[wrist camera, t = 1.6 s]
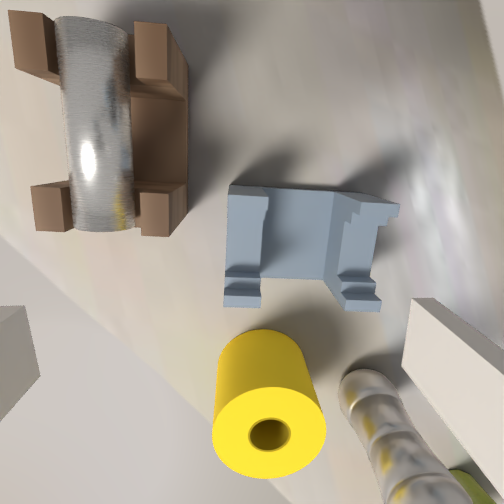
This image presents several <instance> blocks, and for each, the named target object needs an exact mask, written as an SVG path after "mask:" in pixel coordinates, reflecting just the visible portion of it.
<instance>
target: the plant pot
mask: <svg viewBox="0 0 504 504" xmlns="http://www.w3.org/2000/svg"><path fill="white" fill-rule="evenodd" d="M449 472H450V473H451V474H452V475H453V476H454V477H455V478H456V480H457V481H458V482H459V483H460V484H461V486H462V487H463V488H464V489H465V491H466V492H467V493H468V495H469V496H470V497H471V499H472V502H473V504H496V503H495V502H494V500H493V499H492V498H491V497H490V496H489V495H488V494H487V493H486V492H485V491H484V489H483V488H482V487H481V486H480V485H479V484H478V483H477V482H476V481H475V480H474V478H473V477H472V476H471V475H470V474H469V473H465V472H462V471H460V470H450V471H449Z"/></svg>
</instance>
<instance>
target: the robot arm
mask: <svg viewBox="0 0 504 504" xmlns="http://www.w3.org/2000/svg"><path fill="white" fill-rule="evenodd" d="M401 366H402V367H403V369H404V370H405V371H406V373H407V374H408V375H409V377H410V378H411V379H412V380H413V382H414V383H415V384H416V386H417V387H418V388H419V390H420V391H421V392H422V393H423V395H424V396H425V397H426V399H427V400H428V401H429V403H430V404H431V405H432V407H433V408H434V409H435V410H436V412H437V413H438V414H439V416H440V417H441V418H442V420H443V421H444V422H445V423H446V425H447V426H448V427H449V429H450V430H451V431H452V433H453V434H454V435H455V436H456V438H457V439H458V440H459V442H460V443H461V444H462V446H463V447H464V448H465V450H466V451H467V452H468V453H469V455H470V456H471V457H472V459H473V460H474V461H475V463H476V464H477V465H478V466H479V468H480V469H481V470H482V472H483V473H484V474H485V476H486V477H487V478H488V479H489V481H490V482H491V483H492V485H493V486H494V487H495V489H496V490H497V491H498V493H499V494H500V495H501V496H502V498H503V499H504V350H503V349H501V348H500V347H499V346H497V345H496V344H495V343H493V342H492V341H491V340H489V339H488V338H487V337H485V336H484V335H483V334H481V333H480V332H479V331H477V330H476V329H475V328H473V327H472V326H470V325H469V324H468V323H466V322H465V321H464V320H462V319H461V318H460V317H458V316H457V315H456V314H454V313H453V312H452V311H450V310H449V309H448V308H446V307H445V306H444V305H442V304H441V303H440V302H438V301H437V300H436V299H434V298H412V300H411V307H410V313H409V320H408V326H407V333H406V339H405V346H404V352H403V359H402V365H401ZM39 377H40V372H39V367H38V363H37V358H36V354H35V349H34V345H33V340H32V336H31V331H30V327H29V322H28V318H27V313H26V309H25V306H0V421H1V420H2V419H3V418H4V417H5V416H6V414H7V413H8V412H9V411H10V410H11V409H12V408H13V407H14V405H15V404H16V403H17V402H18V401H19V400H20V398H21V397H22V396H23V395H24V394H25V393H26V392H27V391H28V389H29V388H30V387H31V386H32V385H33V384H34V383H35V381H36V380H37V379H38V378H39Z"/></svg>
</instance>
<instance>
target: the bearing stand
mask: <svg viewBox="0 0 504 504" xmlns="http://www.w3.org/2000/svg"><path fill="white" fill-rule="evenodd" d="M8 15H9V23H10V31H11V39H12V47H13V55H14V62H15V68H16V69H19V70H21V71H24V72H26V73H29V74H31V75H34V76H37V77H39V78H42V79H44V80H47V81H49V82H52V83H54V84H57V85H59V86H60V79H59V68H58V58H57V47H56V36H55V26H54V21H52V20H51V19H50V18H48V17H47V16H46V15H44V14H43V13H37V12H26V11H15V10H8ZM128 45H129V71H130V96H131V121H132V146H133V172H134V197H135V222H136V226H135V227H140V228H141V236H159V237H169V236H170V235H171V234H172V232H173V231H174V230H175V229H176V227H177V226H178V225H179V224H180V222H181V221H182V220H183V219H184V217H185V216H186V215H187V214H188V64H187V62H186V60H185V58H184V56H183V54H182V52H181V50H180V49H179V47H178V45H177V43H176V41H175V39H174V37H173V35H172V33H171V31H170V29H169V27H168V26H167V24H161V23H150V22H139V21H134V35H130V34H128ZM30 188H31V195H32V203H33V211H34V219H35V227H36V231H53V232H66V231H68V230H70V229H72V228H74V227H73V217H72V206H71V195H70V185H69V180H68V181H62V182H55V183H49V184H42V185H36V186H30Z"/></svg>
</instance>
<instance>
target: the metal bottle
mask: <svg viewBox="0 0 504 504" xmlns="http://www.w3.org/2000/svg"><path fill="white" fill-rule="evenodd" d="M338 399H339V404H340V408H341V411H342V413H343V414H344V416H345V418H346V419H347V421H348V422H349V424H350V425H351V426H352V428H353V429H354V430H355V432H356V434H357V436H358V438H359V439H360V441H361V443H362V445H363V447H364V448H365V450H366V453H367V455H368V458H369V460H370V462H371V466H372V468H373V471H374V473H375V476H376V478H377V481H378V485H379V488H380V492H381V495H382V498H383V502H384V504H473V502H472V499H471V497H470V496H469V495H468V493H467V492H466V491H465V489H464V488H463V487H462V486H461V484H460V483H459V482H458V481H457V480H456V478H455V477H454V476H453V475H452V474H451V473H450V472H449V470H448V469H447V468H446V467H445V466H444V465H443V464H442V462H441V461H440V460H439V459H438V458H437V457H436V455H435V454H434V453H433V452H432V450H431V449H430V448H429V446H428V445H427V443H426V442H425V441H424V440H423V438H422V437H421V435H420V434H419V433H418V431H417V430H416V428H415V426H414V424H413V423H412V421H411V419H410V417H409V415H408V414H407V412H406V410H405V408H404V406H403V403H402V400H401V398H400V396H399V394H398V392H397V390H396V388H395V386H394V385H393V384H392V383H391V382H390V381H389V380H388V379H387V378H386V377H385V376H384V375H383V374H382V373H380V372H378V371H375V370H370V369H358V370H355V371H352V372H351V373H349V374H348V375H346V376H345V377H344V379H343V380H342V382H341V384H340V386H339V389H338Z"/></svg>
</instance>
